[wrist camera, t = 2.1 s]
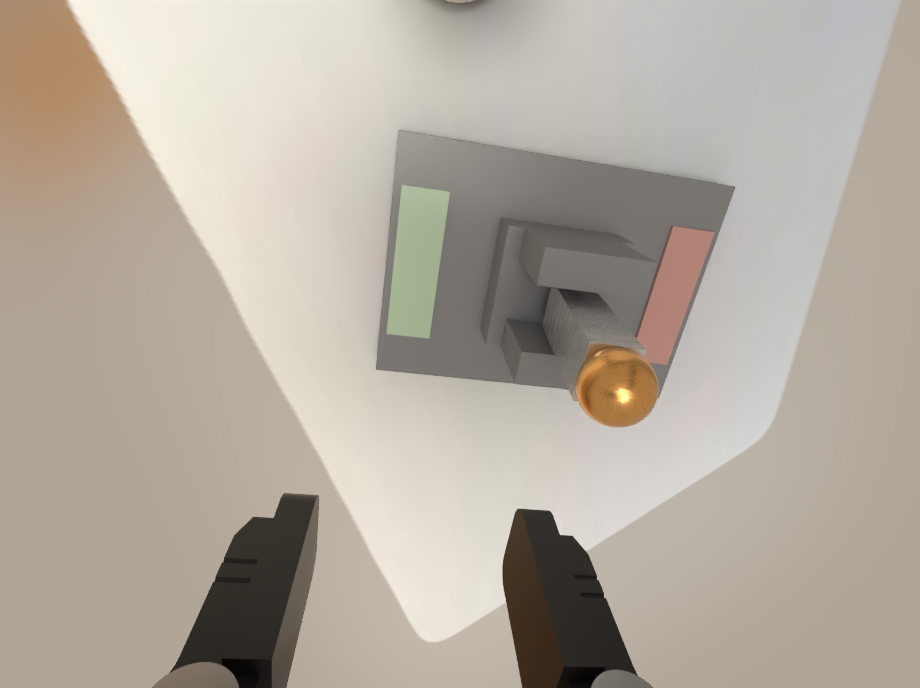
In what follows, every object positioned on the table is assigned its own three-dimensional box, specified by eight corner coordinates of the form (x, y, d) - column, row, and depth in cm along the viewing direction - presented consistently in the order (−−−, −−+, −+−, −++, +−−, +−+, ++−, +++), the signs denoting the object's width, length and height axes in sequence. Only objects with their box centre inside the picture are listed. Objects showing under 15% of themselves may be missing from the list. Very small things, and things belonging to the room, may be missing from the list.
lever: (543, 271, 29) (598, 363, 17) (595, 279, 29) (683, 375, 18) (532, 321, 30) (576, 437, 19) (582, 328, 31) (656, 448, 19)
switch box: (399, 130, 31) (392, 131, 21) (718, 183, 34) (830, 204, 24) (377, 357, 37) (364, 432, 28) (647, 385, 40) (716, 462, 31)
